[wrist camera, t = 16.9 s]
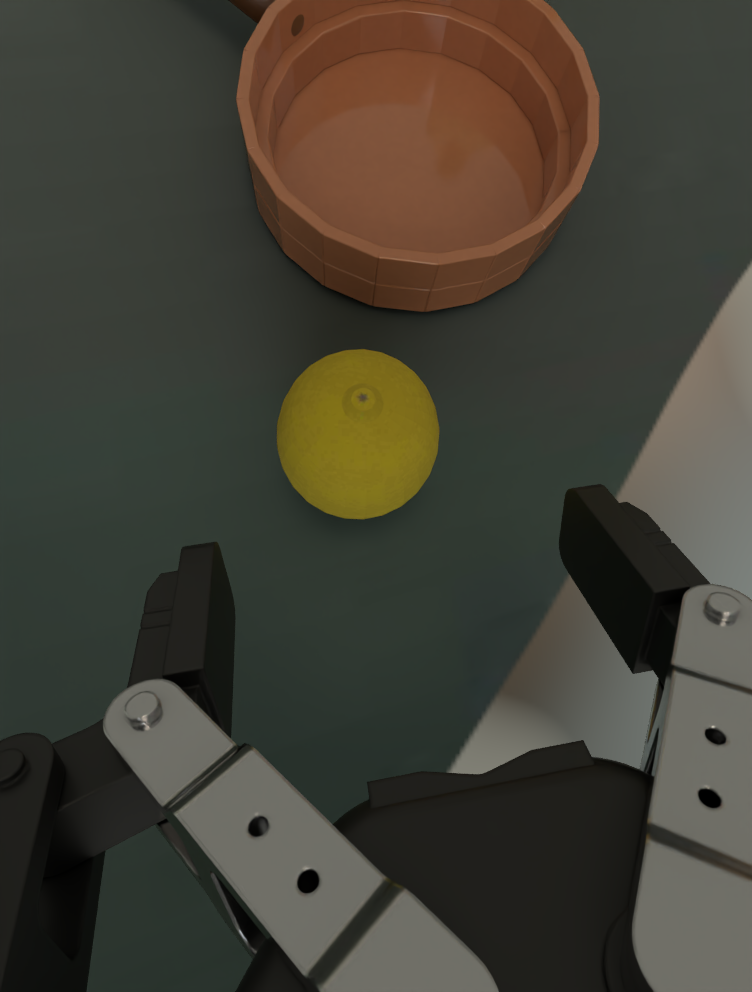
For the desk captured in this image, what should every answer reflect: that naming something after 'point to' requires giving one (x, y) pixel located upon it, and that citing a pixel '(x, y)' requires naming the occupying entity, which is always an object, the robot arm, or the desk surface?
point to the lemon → (357, 434)
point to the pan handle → (255, 4)
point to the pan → (416, 141)
